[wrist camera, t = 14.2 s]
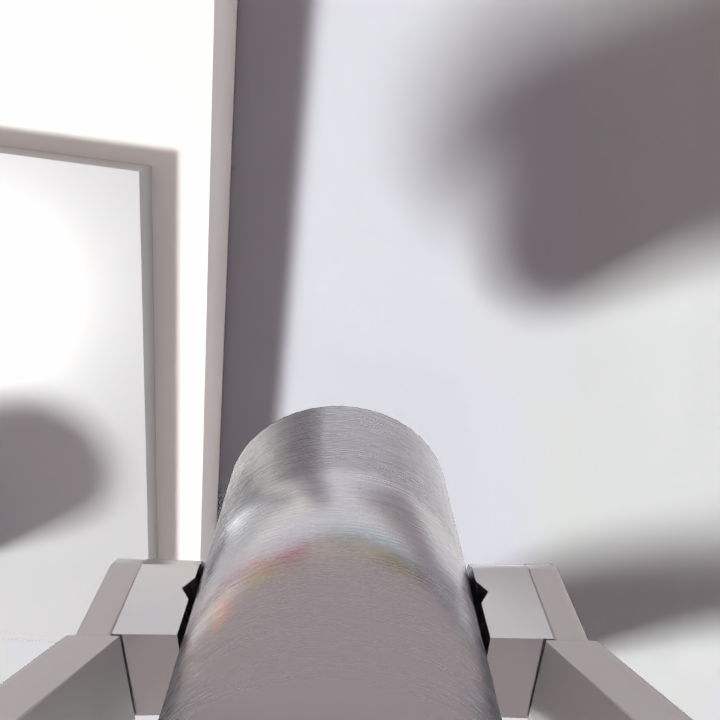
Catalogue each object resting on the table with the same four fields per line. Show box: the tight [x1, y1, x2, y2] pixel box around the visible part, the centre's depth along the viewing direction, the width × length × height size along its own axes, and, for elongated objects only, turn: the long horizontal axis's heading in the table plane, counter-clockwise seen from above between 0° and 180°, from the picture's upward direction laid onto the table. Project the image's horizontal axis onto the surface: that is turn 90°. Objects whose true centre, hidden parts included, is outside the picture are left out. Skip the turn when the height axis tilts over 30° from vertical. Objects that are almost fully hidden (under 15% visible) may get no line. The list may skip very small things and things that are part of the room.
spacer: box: [159, 406, 502, 720], centre depth 10 cm, size 5×5×6 cm
